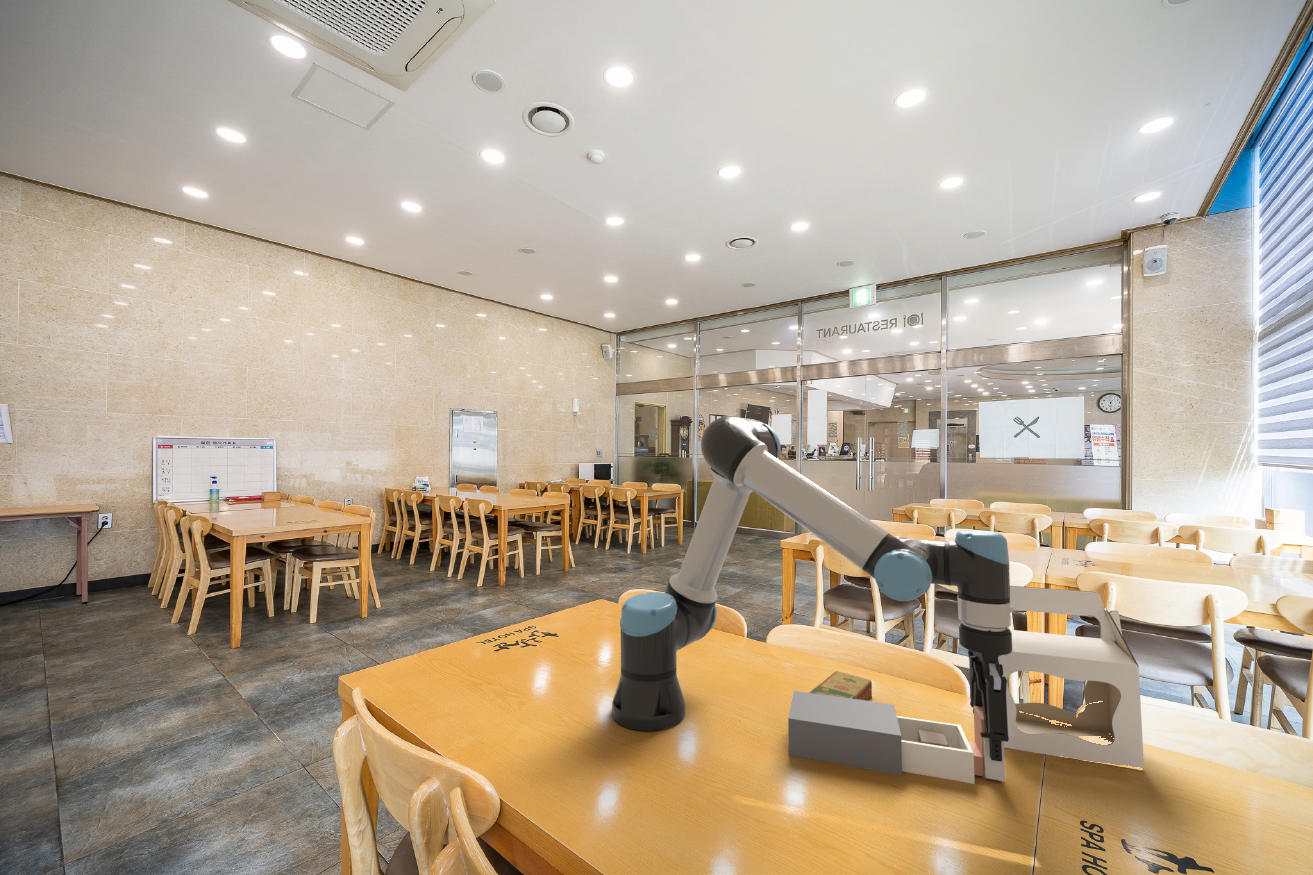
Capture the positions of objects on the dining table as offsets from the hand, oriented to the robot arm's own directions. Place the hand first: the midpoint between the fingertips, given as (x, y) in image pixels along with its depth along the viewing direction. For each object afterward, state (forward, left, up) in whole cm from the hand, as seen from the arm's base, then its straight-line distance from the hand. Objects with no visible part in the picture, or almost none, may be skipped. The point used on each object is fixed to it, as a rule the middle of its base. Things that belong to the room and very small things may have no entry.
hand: (989, 767), depth 86 cm
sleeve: (-23, 0, -1) cm, 23 cm away
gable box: (+14, +17, -2) cm, 22 cm away
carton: (-23, +20, -2) cm, 30 cm away
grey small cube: (-8, 0, 0) cm, 8 cm away
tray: (-9, 0, -1) cm, 9 cm away
